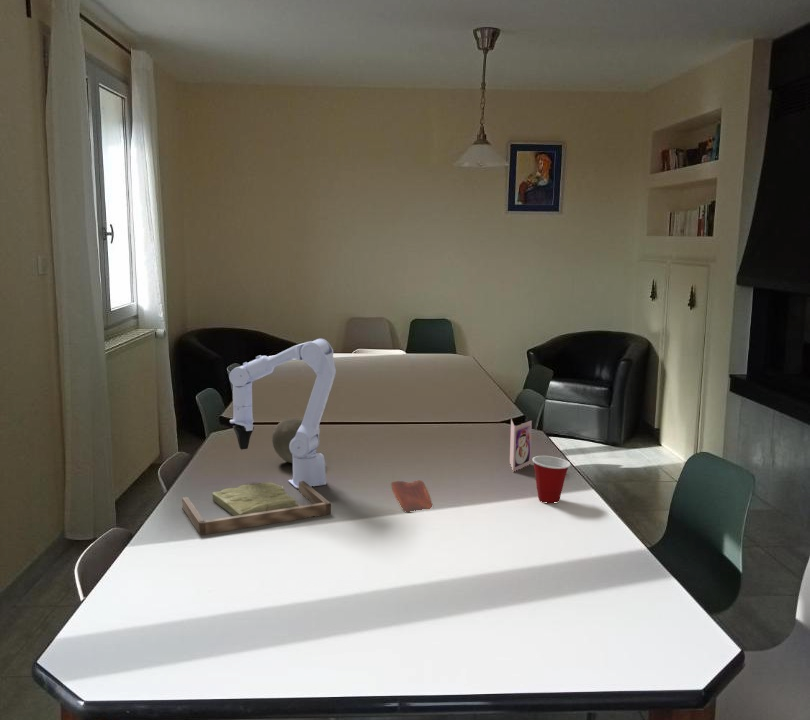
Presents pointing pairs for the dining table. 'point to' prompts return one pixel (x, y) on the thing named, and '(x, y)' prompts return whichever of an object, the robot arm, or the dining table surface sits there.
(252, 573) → the dining table surface
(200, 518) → the frame
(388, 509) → the dining table surface
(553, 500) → the plastic cup
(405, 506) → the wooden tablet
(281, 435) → the cantaloupe
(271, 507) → the decorative tile
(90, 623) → the dining table surface
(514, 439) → the greeting card
